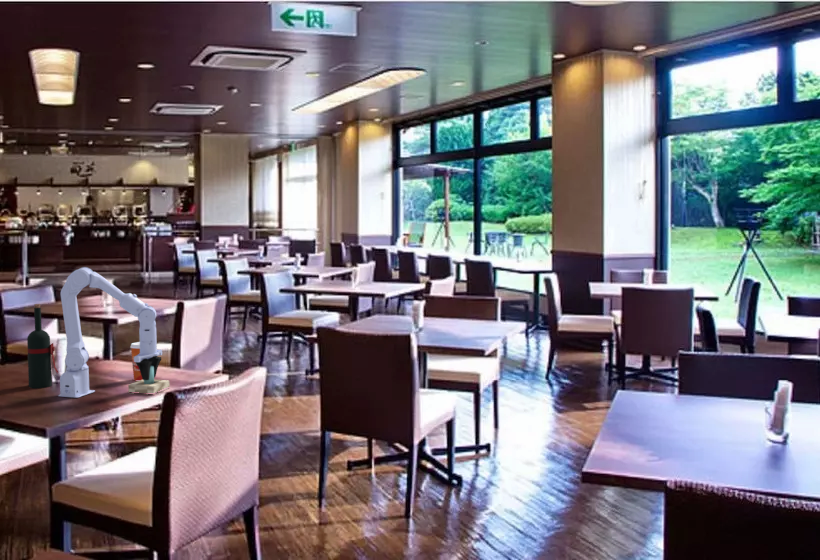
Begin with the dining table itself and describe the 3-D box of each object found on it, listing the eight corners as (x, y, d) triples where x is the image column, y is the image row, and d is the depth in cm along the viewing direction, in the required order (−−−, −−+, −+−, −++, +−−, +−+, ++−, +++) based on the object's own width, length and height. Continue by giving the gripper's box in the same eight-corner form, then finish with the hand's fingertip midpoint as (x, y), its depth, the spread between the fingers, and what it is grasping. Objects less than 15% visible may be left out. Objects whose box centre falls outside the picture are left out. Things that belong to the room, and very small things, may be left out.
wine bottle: (56, 387, 284) (53, 305, 281) (26, 389, 282) (22, 305, 279) (61, 382, 292) (58, 302, 289) (31, 384, 290) (28, 303, 287)
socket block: (153, 394, 274) (153, 386, 274) (128, 393, 277) (128, 384, 277) (169, 388, 284) (169, 380, 284) (145, 386, 286) (144, 378, 286)
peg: (150, 387, 278) (150, 367, 277) (141, 386, 279) (141, 367, 278) (156, 384, 281) (155, 365, 281) (147, 384, 282) (147, 365, 282)
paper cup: (126, 380, 297) (125, 343, 295) (142, 376, 303) (141, 340, 302) (141, 382, 293) (140, 345, 292) (157, 378, 300) (156, 342, 298)
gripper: (146, 344, 271) (147, 383, 272) (169, 338, 285) (170, 375, 286) (128, 343, 272) (129, 382, 274) (152, 337, 286) (153, 373, 288)
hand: (149, 378), depth 280 cm, fingers closed on peg, 3 cm apart
